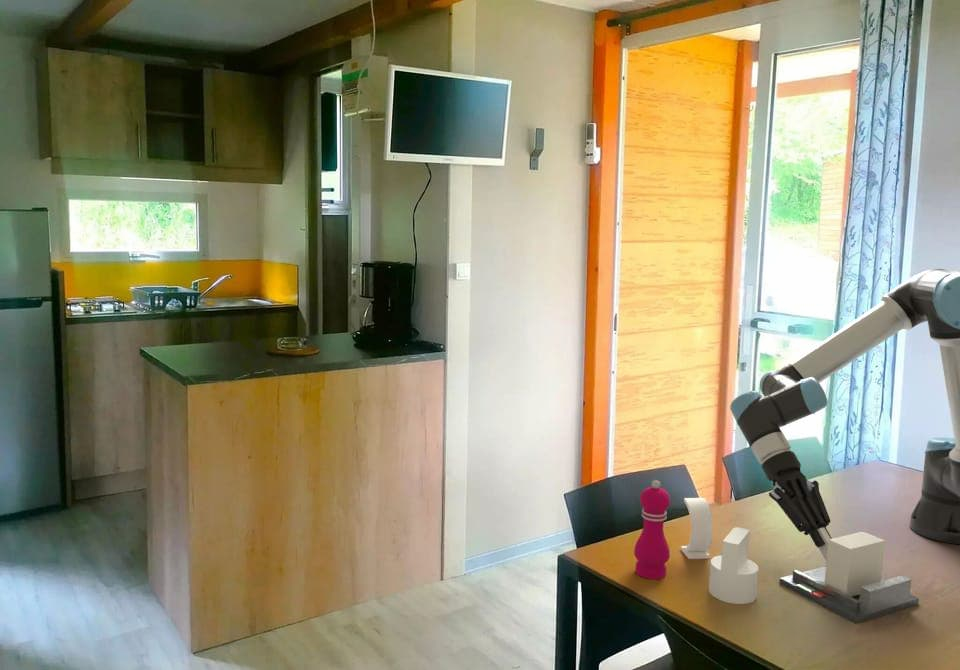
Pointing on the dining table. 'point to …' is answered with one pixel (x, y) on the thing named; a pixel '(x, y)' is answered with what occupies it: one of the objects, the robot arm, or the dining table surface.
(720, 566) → the base with upright slab
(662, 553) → the pepper mill
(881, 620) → the dining table surface
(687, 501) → the headphone stand
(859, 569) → the white block
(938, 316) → the robot arm
